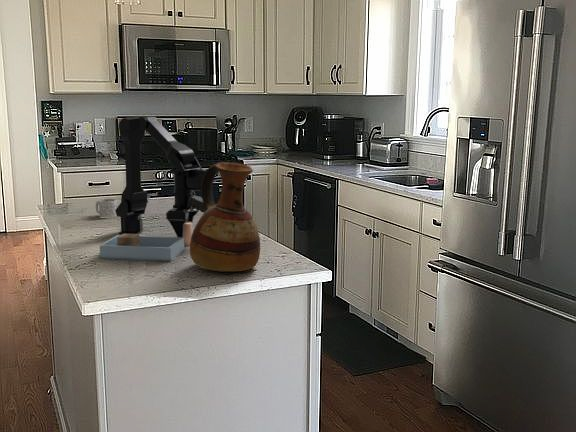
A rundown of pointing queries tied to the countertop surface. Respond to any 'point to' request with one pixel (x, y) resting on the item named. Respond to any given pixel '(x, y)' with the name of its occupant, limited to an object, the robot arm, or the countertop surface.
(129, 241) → the walnut block
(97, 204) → the mug
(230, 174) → the ceramic pitcher
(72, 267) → the countertop surface
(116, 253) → the tote
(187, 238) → the brown egg
